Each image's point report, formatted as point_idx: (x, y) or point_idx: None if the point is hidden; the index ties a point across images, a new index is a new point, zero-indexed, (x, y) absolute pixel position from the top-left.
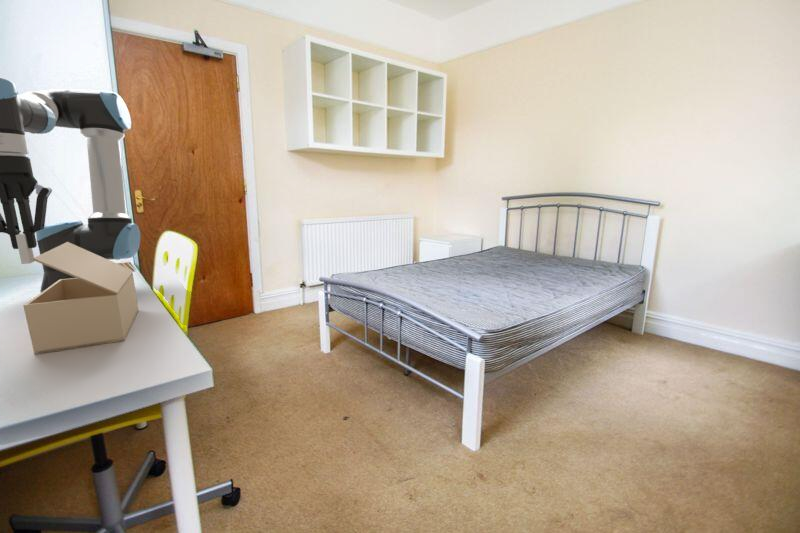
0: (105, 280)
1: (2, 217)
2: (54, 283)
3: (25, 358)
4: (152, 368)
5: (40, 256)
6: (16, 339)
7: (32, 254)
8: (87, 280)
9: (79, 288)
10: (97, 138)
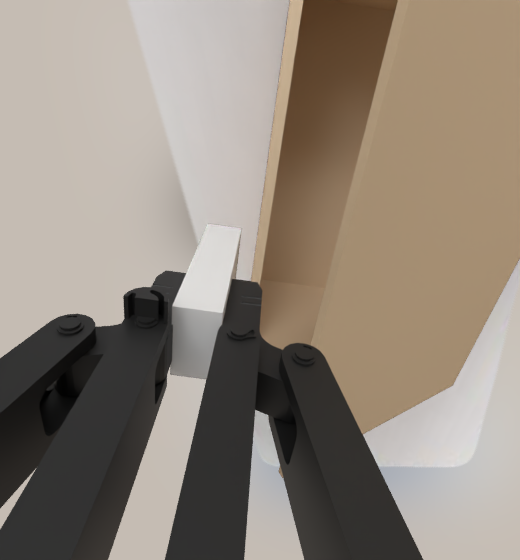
0: (451, 344)
1: (17, 404)
2: (284, 64)
3: None
4: (415, 431)
5: None
6: (188, 140)
7: (236, 255)
8: (400, 413)
9: None
10: None
